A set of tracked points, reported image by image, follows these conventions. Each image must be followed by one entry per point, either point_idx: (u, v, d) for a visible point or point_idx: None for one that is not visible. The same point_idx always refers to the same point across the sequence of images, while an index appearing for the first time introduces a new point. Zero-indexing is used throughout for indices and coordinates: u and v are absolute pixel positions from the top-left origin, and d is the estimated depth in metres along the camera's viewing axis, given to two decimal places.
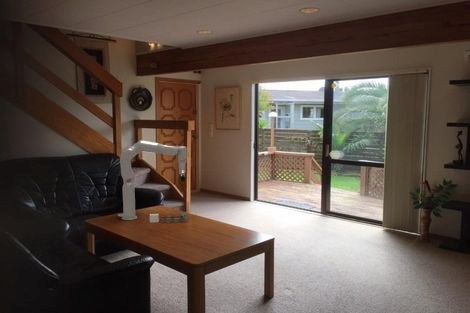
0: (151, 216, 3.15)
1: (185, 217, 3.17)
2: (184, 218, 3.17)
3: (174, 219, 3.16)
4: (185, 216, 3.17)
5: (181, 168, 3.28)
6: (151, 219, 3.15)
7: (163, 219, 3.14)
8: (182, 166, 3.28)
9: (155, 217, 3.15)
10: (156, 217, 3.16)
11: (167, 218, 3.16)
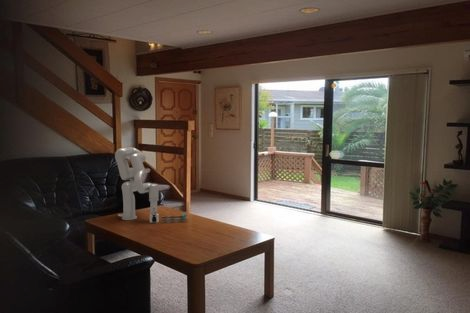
0: (151, 216, 3.15)
1: (185, 217, 3.17)
2: (184, 218, 3.17)
3: (174, 219, 3.16)
4: (185, 216, 3.17)
5: (152, 207, 3.12)
6: (151, 219, 3.15)
7: (163, 219, 3.14)
8: (153, 205, 3.12)
9: None
10: (156, 217, 3.16)
11: (167, 218, 3.16)
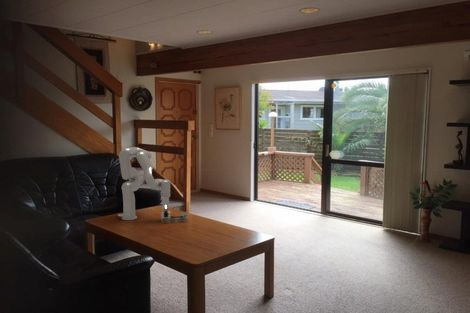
0: (163, 214, 3.16)
1: (185, 217, 3.17)
2: (184, 218, 3.17)
3: (174, 219, 3.16)
4: (185, 216, 3.17)
5: (164, 203, 3.13)
6: (163, 217, 3.17)
7: (163, 219, 3.14)
8: (165, 201, 3.13)
9: None
10: (168, 214, 3.17)
11: (167, 218, 3.16)
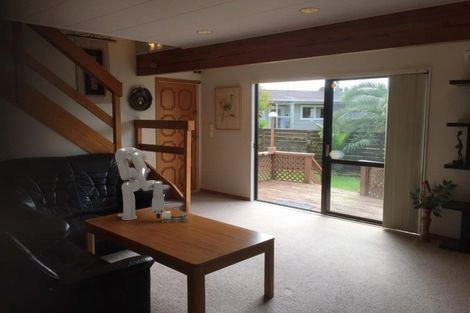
0: (163, 214, 3.16)
1: (185, 217, 3.17)
2: (184, 218, 3.17)
3: (174, 219, 3.16)
4: (185, 216, 3.17)
5: None
6: (163, 216, 3.17)
7: (163, 219, 3.14)
8: (152, 201, 3.16)
9: (167, 215, 3.17)
10: (168, 214, 3.17)
11: (167, 218, 3.16)
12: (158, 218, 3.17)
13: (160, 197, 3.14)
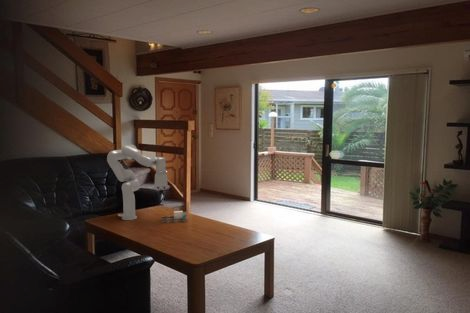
0: (175, 213, 3.18)
1: (185, 217, 3.17)
2: (184, 218, 3.17)
3: (174, 219, 3.16)
4: (185, 216, 3.17)
5: None
6: (175, 216, 3.18)
7: (163, 219, 3.14)
8: None
9: (179, 214, 3.19)
10: (180, 214, 3.19)
11: (167, 218, 3.16)
12: (161, 194, 3.15)
13: (163, 173, 3.12)
